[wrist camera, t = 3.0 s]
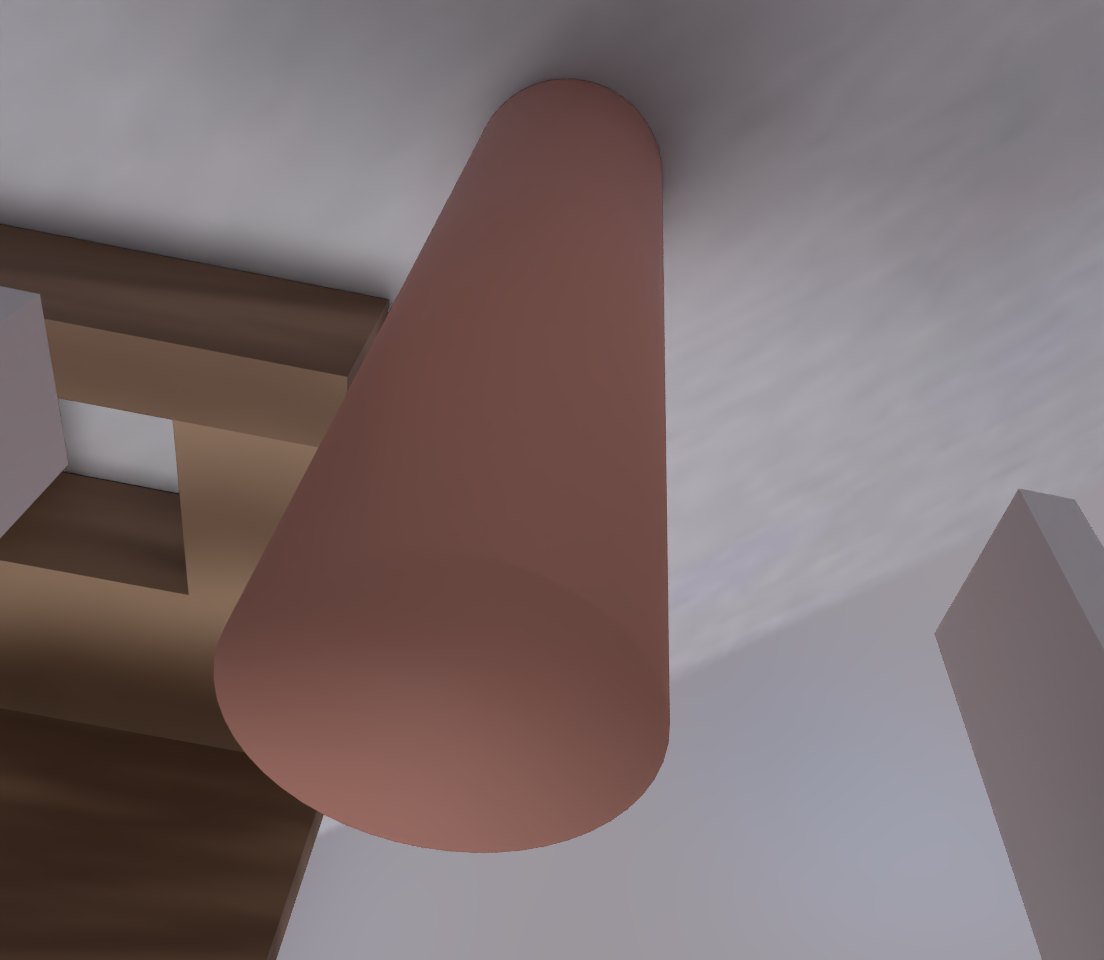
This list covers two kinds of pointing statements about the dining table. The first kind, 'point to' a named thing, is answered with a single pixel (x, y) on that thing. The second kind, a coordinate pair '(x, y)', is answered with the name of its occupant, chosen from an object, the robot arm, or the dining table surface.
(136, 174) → the dining table surface
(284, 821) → the station
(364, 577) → the peg
